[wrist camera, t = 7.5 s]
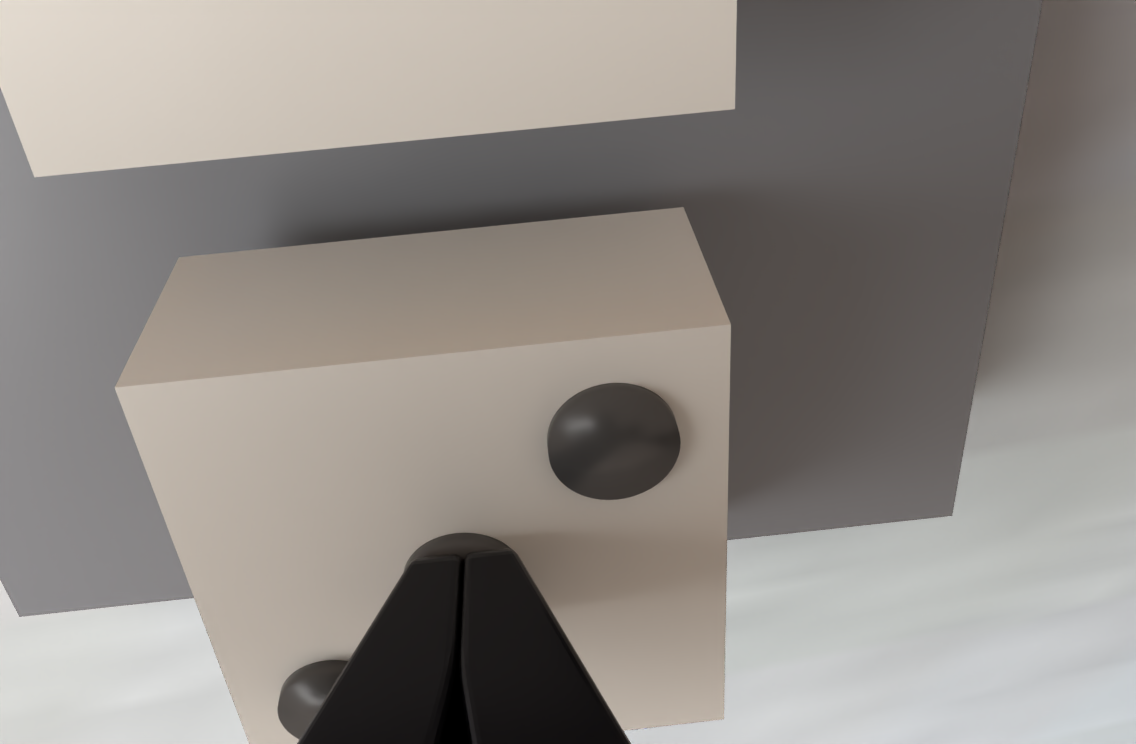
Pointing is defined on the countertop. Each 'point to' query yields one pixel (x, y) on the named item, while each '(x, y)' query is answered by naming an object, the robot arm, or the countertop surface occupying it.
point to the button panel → (560, 191)
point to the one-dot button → (342, 72)
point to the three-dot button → (447, 446)
